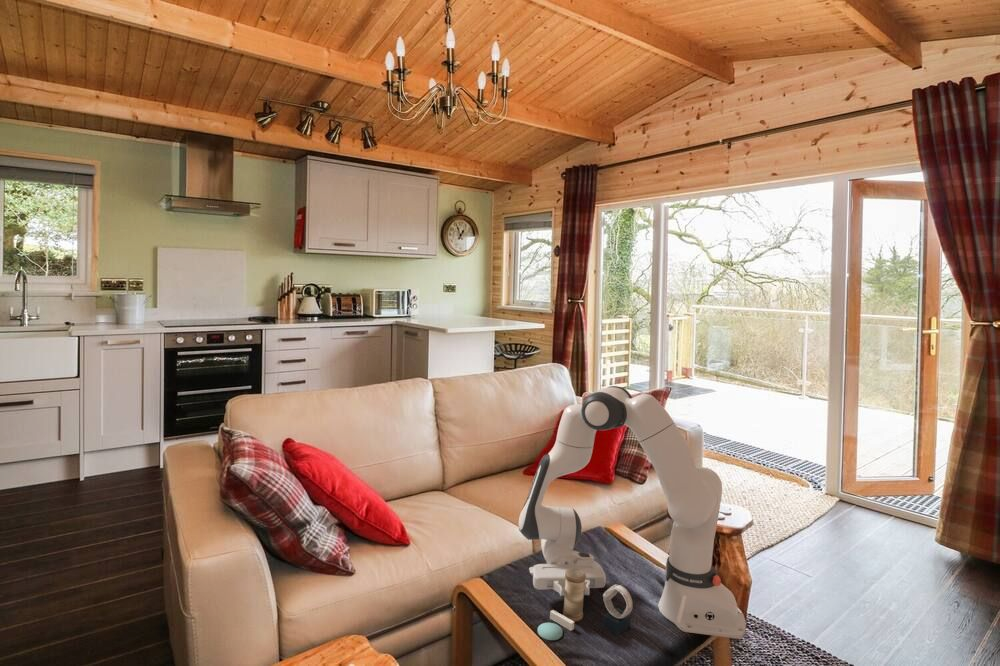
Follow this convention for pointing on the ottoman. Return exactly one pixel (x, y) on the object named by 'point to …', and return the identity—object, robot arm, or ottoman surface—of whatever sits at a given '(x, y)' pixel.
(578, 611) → the spool
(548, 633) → the coaster
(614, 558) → the ottoman surface
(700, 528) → the robot arm
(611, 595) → the watch
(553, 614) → the rail
